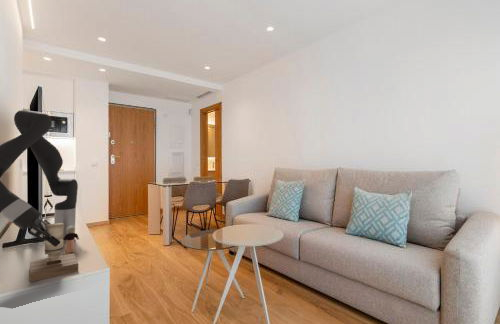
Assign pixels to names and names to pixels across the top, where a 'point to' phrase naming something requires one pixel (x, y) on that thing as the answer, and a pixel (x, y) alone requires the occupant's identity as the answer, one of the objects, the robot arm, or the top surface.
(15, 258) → the top surface
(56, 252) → the beech peg
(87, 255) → the top surface
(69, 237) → the grandmother figurine
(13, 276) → the top surface
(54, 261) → the walnut board
